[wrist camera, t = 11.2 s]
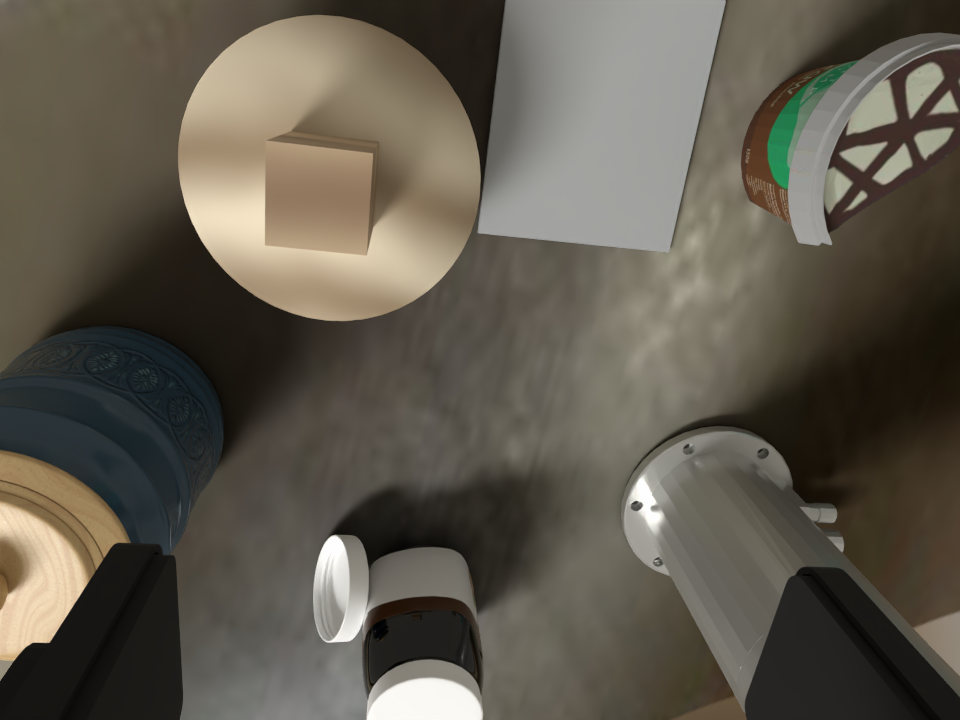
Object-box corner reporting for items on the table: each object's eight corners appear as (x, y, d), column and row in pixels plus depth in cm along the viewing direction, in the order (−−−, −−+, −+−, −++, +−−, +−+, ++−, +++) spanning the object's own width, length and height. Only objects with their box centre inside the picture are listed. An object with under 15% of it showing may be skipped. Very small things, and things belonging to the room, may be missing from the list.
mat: (722, 1, 37) (726, 0, 37) (666, 251, 42) (668, 252, 42) (509, -33, 35) (510, -34, 35) (477, 231, 40) (478, 233, 40)
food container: (870, -5, 38) (1021, -35, 28) (908, 91, 40) (1059, 92, 31) (682, 130, 39) (767, 143, 30) (729, 215, 42) (821, 251, 32)
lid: (461, 325, 36) (473, 377, 30) (189, 302, 34) (139, 352, 28) (496, 41, 31) (519, 29, 25) (179, -6, 29) (114, -33, 23)
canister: (65, 278, 39) (-180, 415, 23) (266, 389, 43) (181, 574, 26) (-23, 445, 42) (-291, 668, 26) (172, 533, 46) (44, 777, 30)
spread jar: (477, 630, 52) (496, 770, 41) (331, 649, 51) (311, 798, 41) (464, 500, 47) (481, 620, 37) (303, 519, 47) (273, 648, 36)
